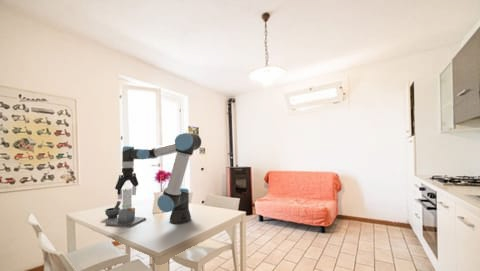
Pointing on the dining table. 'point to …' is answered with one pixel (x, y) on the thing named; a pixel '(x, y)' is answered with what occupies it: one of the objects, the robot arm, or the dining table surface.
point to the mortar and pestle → (113, 211)
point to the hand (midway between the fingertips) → (127, 197)
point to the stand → (126, 219)
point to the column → (127, 199)
